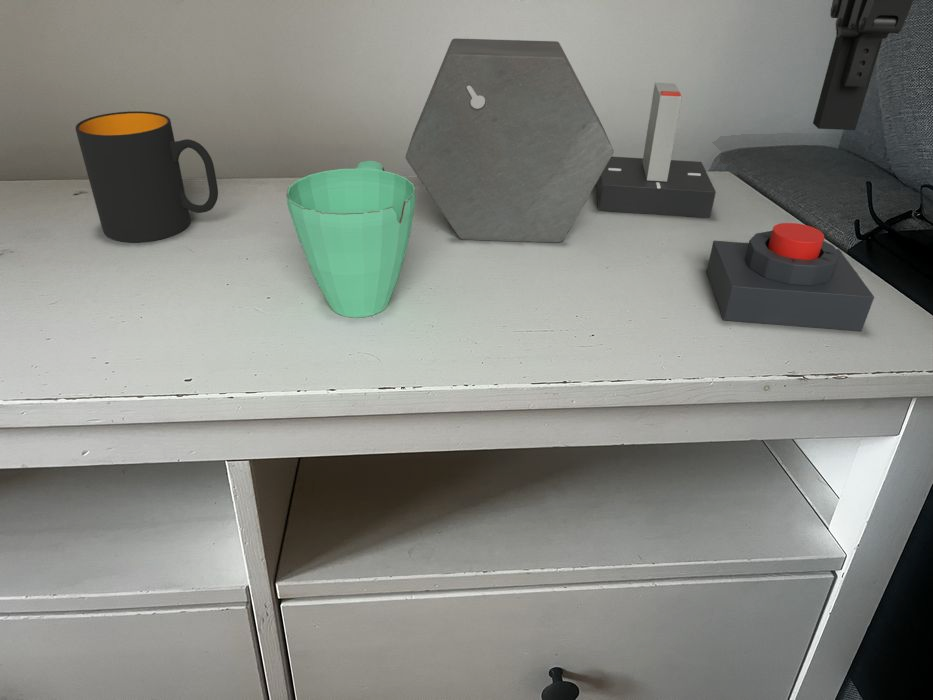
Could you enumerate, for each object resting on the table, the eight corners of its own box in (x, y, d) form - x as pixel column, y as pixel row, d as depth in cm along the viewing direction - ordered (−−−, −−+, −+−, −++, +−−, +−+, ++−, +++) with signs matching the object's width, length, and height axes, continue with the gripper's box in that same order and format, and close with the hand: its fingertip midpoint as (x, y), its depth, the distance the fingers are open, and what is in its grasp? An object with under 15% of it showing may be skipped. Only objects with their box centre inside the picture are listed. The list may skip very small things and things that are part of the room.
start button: (810, 243, 62) (816, 224, 61) (824, 263, 58) (831, 243, 58) (763, 240, 62) (768, 221, 61) (773, 260, 59) (779, 240, 58)
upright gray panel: (642, 163, 84) (655, 80, 79) (661, 164, 84) (675, 81, 79) (646, 180, 79) (660, 93, 74) (667, 181, 79) (682, 94, 74)
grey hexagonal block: (627, 172, 76) (530, -14, 66) (639, 199, 69) (533, -3, 60) (488, 249, 81) (381, 87, 72) (488, 281, 74) (370, 107, 65)
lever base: (696, 185, 87) (701, 160, 85) (710, 218, 78) (716, 190, 76) (596, 179, 88) (599, 154, 86) (598, 211, 79) (602, 183, 77)
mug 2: (411, 335, 56) (408, 216, 51) (287, 331, 57) (271, 211, 51) (427, 255, 69) (426, 151, 63) (324, 251, 69) (315, 148, 64)
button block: (828, 280, 66) (845, 230, 63) (861, 331, 59) (882, 276, 56) (706, 272, 67) (717, 221, 64) (723, 320, 60) (737, 266, 57)
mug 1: (210, 245, 70) (190, 138, 64) (87, 241, 70) (57, 134, 64) (236, 212, 76) (220, 113, 71) (125, 208, 77) (100, 109, 71)
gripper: (846, -257, 48) (764, 103, 61) (926, -296, 38) (806, 150, 50) (963, -258, 48) (856, 106, 61) (1080, -298, 37) (919, 155, 50)
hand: (833, 126), depth 56 cm, fingers closed
